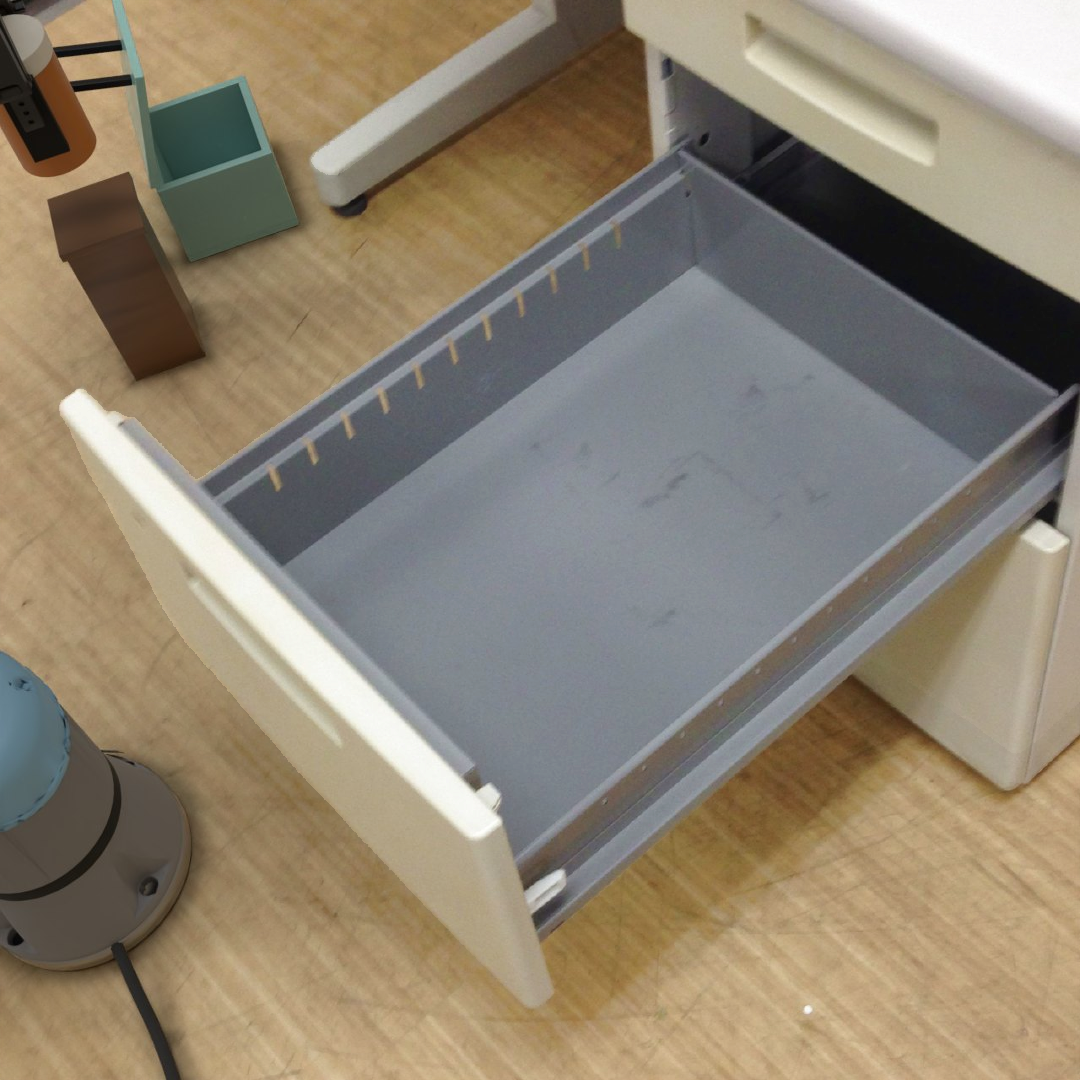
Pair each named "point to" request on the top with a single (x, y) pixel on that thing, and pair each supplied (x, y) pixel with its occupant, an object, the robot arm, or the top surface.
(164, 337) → the plinth
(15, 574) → the top surface
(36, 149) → the robot arm
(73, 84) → the teal box lid
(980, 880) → the top surface
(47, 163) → the amber jar
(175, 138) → the teal open box
